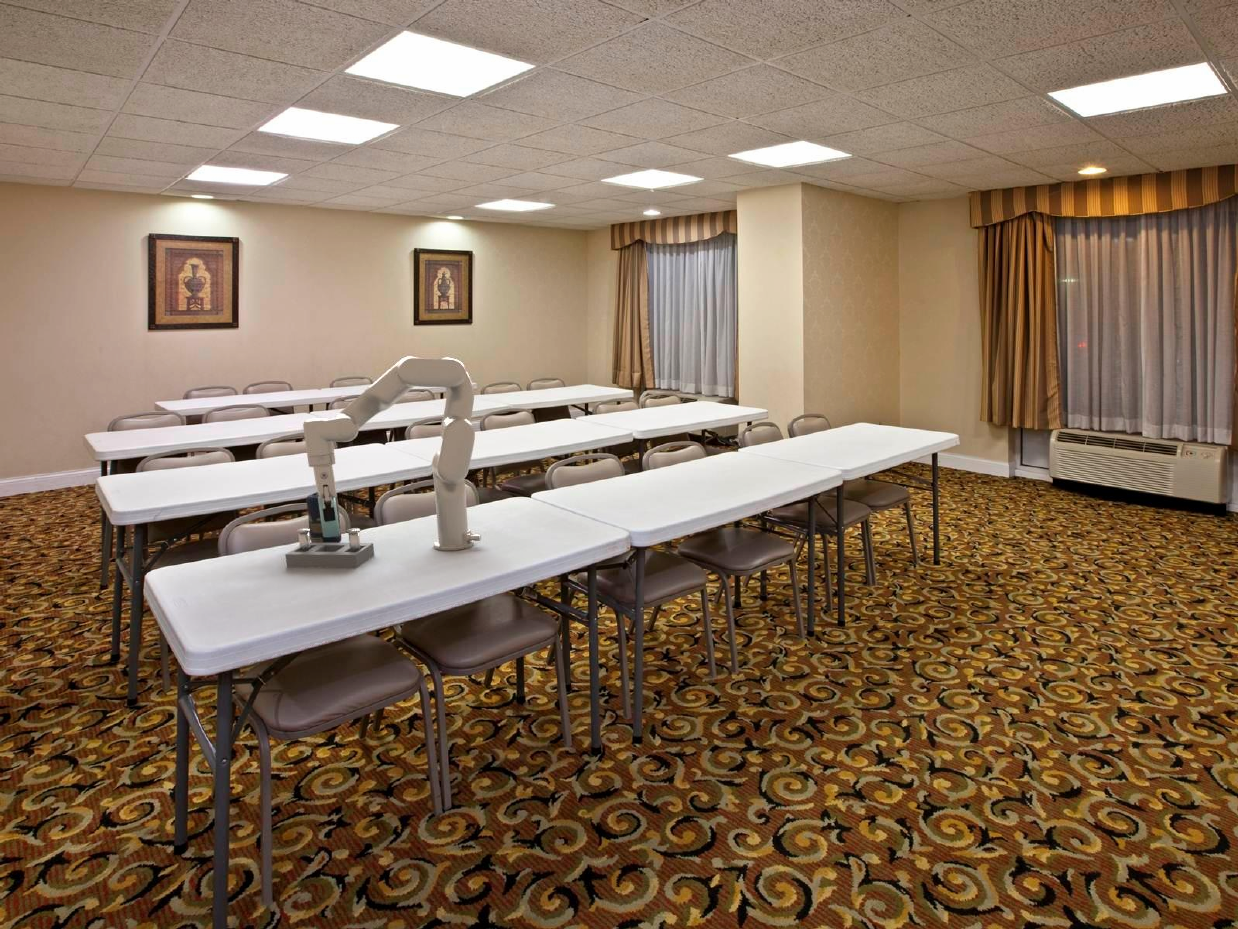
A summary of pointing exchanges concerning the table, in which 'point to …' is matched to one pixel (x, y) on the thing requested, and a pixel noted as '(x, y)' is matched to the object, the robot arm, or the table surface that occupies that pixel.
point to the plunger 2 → (354, 539)
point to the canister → (319, 521)
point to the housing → (330, 556)
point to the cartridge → (331, 526)
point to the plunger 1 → (304, 539)
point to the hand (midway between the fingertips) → (329, 518)
